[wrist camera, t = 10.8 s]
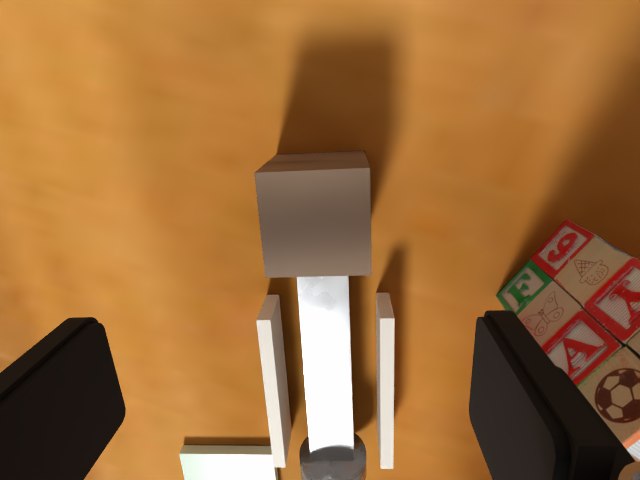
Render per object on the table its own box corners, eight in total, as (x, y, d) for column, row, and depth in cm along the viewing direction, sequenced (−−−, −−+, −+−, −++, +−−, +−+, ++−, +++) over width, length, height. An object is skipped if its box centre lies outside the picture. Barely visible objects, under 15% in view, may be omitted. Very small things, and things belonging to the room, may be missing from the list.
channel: (388, 430, 29) (393, 468, 26) (280, 430, 30) (273, 467, 27) (388, 292, 26) (394, 318, 23) (266, 294, 26) (256, 320, 23)
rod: (364, 444, 29) (368, 501, 25) (304, 443, 30) (297, 499, 26) (360, 237, 24) (363, 265, 20) (287, 239, 25) (275, 268, 21)
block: (365, 234, 25) (371, 275, 19) (283, 237, 25) (265, 277, 19) (364, 150, 23) (370, 167, 17) (276, 154, 23) (254, 172, 18)
